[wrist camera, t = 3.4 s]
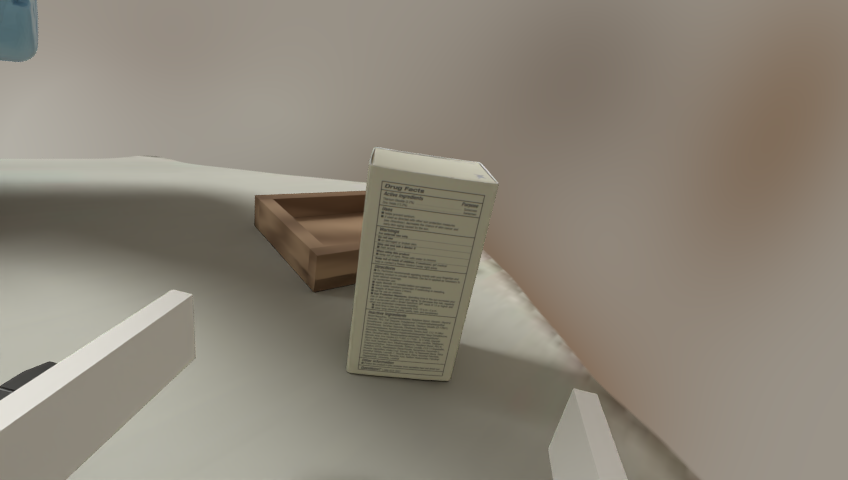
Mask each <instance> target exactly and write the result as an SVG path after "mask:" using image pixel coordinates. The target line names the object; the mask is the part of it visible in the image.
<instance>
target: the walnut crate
mask: <svg viewBox="0 0 848 480" xmlns="http://www.w3.org/2000/svg"><path fill="white" fill-rule="evenodd" d="M365 196H366V191H349V192H324V193H300V194H275V195H255V223H254V225H255V226H256V228H257V229H258V230H259V231H260V232H261V233H262V234H263V235H264V237H265V238H266V239H267V240H268V241H269V242H270V243H271V244H272V246H273V247H274V248H275V249H276V250H277V251H278V252H279V253H280V255H281V256H282V257H283V258H284V259H285V260H286V261H287V263H288V264H289V265H290V266H291V267H292V268H293V269H294V270H295V272H296V273H297V274H298V275H299V276H300V277H301V278H302V279H303V281H304V282H305V283H306V284H307V285H308V286H309V287H310V288H311V290H312V291H313V292H317V291H322V290H327V289H332V288H336V287H341V286H346V285H351V284H356V277H357V268H358V260H359V250H360V241H361V232H362V223H363V214H364V206H365Z"/></svg>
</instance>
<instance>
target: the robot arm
mask: <svg viewBox="0 0 848 480" xmlns="http://www.w3.org/2000/svg"><path fill="white" fill-rule="evenodd" d="M37 13H38V12H37V0H0V60H2V61H13V62H23V61H27V60H29V59H31V58H32V57H33V56H34V55H35V54H36V51H37V48H38V14H37ZM195 358H196V354H195V331H194V308H193V294H190V293H186V292H182V291H177V290H173V289H172V290H170V291H169V292H167V293H166V294H164V295H162V296H161V297H159V298H158V299H156V300H155V301H153V302H152V303H150V304H149V305H147V306H145V307H144V308H142V309H141V310H139V311H138V312H136V313H135V314H133V315H132V316H130V317H128V318H127V319H125V320H124V321H122V322H121V323H119V324H118V325H116V326H115V327H113V328H111V329H110V330H108V331H107V332H105V333H104V334H102V335H101V336H99V337H98V338H96V339H94V340H93V341H91V342H90V343H88V344H87V345H85V346H84V347H82V348H81V349H79V350H77V351H76V352H74V353H73V354H71V355H70V356H68V357H67V358H65V359H64V360H62V361H60V362H59V363H54V362H50V361H49V362H47V363H44V364H42V365H39V366H36V367H34V368H31V369H29V370H26V371H24V372H22V373H20V374H19V375H17V376H15V377H14V378H12V379H10V380H9V381H7V382H6V383H4V384H2V385H1V386H0V480H66V479H67V478H68V477H69V476H70V475H71V474H72V473H73V472H75V471H76V470H77V469H78V468H79V467H80V466H81V465H82V464H83V463H84V462H85V461H86V460H87V459H88V458H90V457H91V456H92V455H93V454H94V453H95V452H96V451H97V450H98V449H99V448H100V447H101V446H102V445H103V444H104V443H106V442H107V441H108V440H109V439H110V438H111V437H112V436H113V435H114V434H115V433H116V432H117V431H118V430H119V429H121V428H122V427H123V426H124V425H125V424H126V423H127V422H128V421H129V420H130V419H131V418H132V417H133V416H134V415H135V414H137V413H138V412H139V411H140V410H141V409H142V408H143V407H144V406H145V405H146V404H147V403H148V402H149V401H150V400H151V399H153V398H154V397H155V396H156V395H157V394H158V393H159V392H160V391H161V390H162V389H163V388H164V387H165V386H166V385H168V384H169V383H170V382H171V381H172V380H173V379H174V378H175V377H176V376H177V375H178V374H179V373H180V372H181V371H182V370H184V369H185V368H186V367H187V366H188V365H189V364H190V363H191V362H192V361H193V360H194V359H195ZM548 452H549V458H550V464H551V470H552V476H553V480H628V479H627V476H626V473H625V470H624V468H623V465H622V462H621V459H620V456H619V454H618V451H617V448H616V445H615V442H614V440H613V437H612V434H611V431H610V428H609V426H608V423H607V420H606V417H605V414H604V412H603V409H602V406H601V403H600V400H599V398H598V395H597V394H595V393H591V392H587V391H583V390H579V389H575V388H573V390H572V393H571V395H570V397H569V400H568V402H567V405H566V407H565V409H564V412H563V414H562V417H561V419H560V421H559V424H558V426H557V429H556V431H555V433H554V436H553V438H552V441H551V443H550V445H549V448H548Z"/></svg>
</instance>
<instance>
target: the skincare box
mask: <svg viewBox="0 0 848 480" xmlns="http://www.w3.org/2000/svg"><path fill="white" fill-rule="evenodd" d="M498 186H499V183H498V182H497V181H496V180H495V178H494V177H493V176H492V175H491V174H490V173H489V171H488V170H487V169H486V168H485V167H484V166H483V165H482V164H481V163H479V162H471V161H465V160H458V159H452V158H444V157H437V156H430V155H424V154H417V153H411V152H405V151H397V150H391V149H386V148H380V147H375V148H374V149H373V152H372V154H371V157H370V161H369V167H368V177H367V187H366V196H365V206H364V214H363V223H362V232H361V241H360V250H359V260H358V268H357V277H356V285H355V295H354V304H353V313H352V321H351V329H350V338H349V348H348V357H347V366H346V370H347V372H349V373H356V374H366V375H376V376H388V377H401V378H411V379H421V380H440V381H449V380H450V379H451V375H452V371H453V367H454V363H455V359H456V355H457V351H458V347H459V343H460V338H461V334H462V330H463V326H464V322H465V318H466V314H467V310H468V306H469V302H470V298H471V294H472V290H473V286H474V282H475V278H476V274H477V270H478V266H479V262H480V258H481V254H482V250H483V246H484V242H485V238H486V234H487V230H488V226H489V221H490V217H491V214H492V209H493V206H494V202H495V198H496V194H497V190H498Z"/></svg>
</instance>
